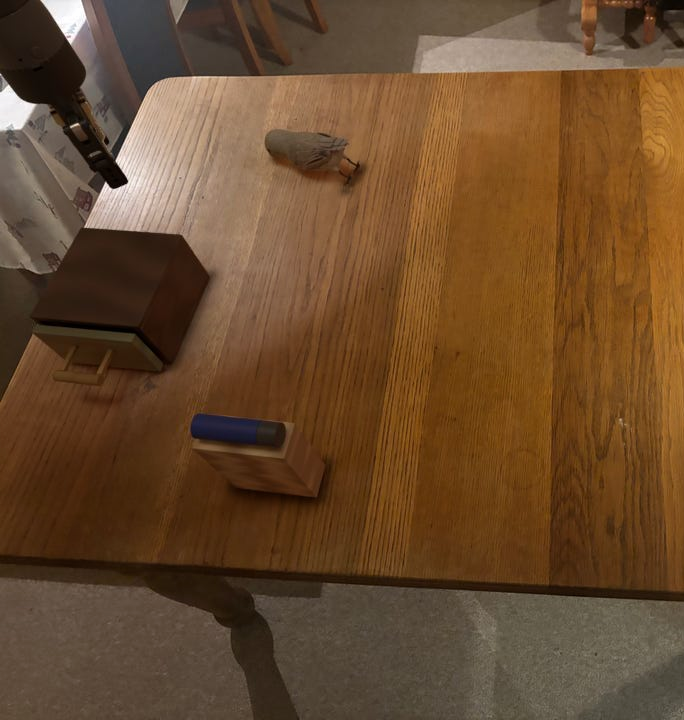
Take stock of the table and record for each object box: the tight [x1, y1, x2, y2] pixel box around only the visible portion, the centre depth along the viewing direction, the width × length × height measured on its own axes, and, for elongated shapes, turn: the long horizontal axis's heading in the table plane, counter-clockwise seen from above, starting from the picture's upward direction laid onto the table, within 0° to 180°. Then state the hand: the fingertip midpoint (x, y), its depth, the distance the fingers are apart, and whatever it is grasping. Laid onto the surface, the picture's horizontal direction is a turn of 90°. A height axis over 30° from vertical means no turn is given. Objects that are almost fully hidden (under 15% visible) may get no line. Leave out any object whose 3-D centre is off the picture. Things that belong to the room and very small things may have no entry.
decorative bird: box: [264, 128, 361, 188], centre depth 101 cm, size 5×16×8 cm, turn 67°
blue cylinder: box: [189, 412, 286, 448], centre depth 67 cm, size 9×3×3 cm, turn 82°
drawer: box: [31, 322, 164, 387], centre depth 86 cm, size 18×13×7 cm
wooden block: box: [191, 413, 326, 498], centre depth 73 cm, size 10×4×12 cm, turn 82°
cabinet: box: [28, 227, 211, 365], centre depth 88 cm, size 15×15×9 cm
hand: (110, 164), depth 82 cm, fingers open, 8 cm apart
